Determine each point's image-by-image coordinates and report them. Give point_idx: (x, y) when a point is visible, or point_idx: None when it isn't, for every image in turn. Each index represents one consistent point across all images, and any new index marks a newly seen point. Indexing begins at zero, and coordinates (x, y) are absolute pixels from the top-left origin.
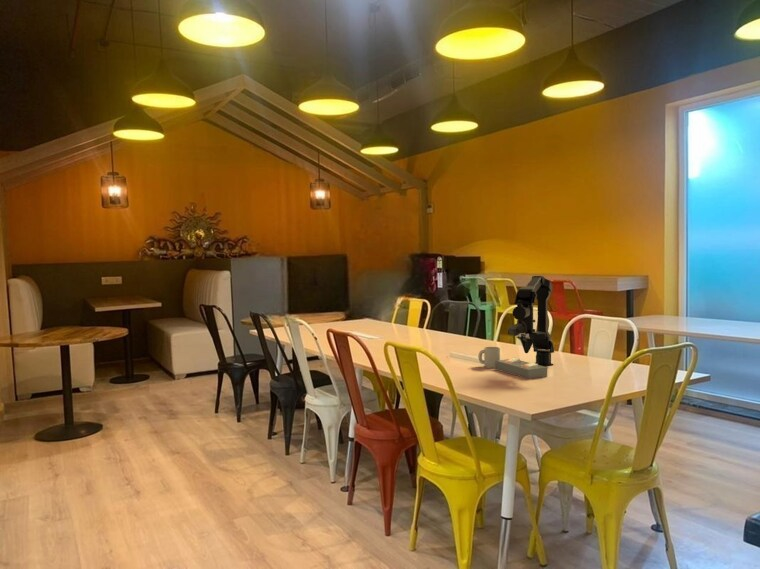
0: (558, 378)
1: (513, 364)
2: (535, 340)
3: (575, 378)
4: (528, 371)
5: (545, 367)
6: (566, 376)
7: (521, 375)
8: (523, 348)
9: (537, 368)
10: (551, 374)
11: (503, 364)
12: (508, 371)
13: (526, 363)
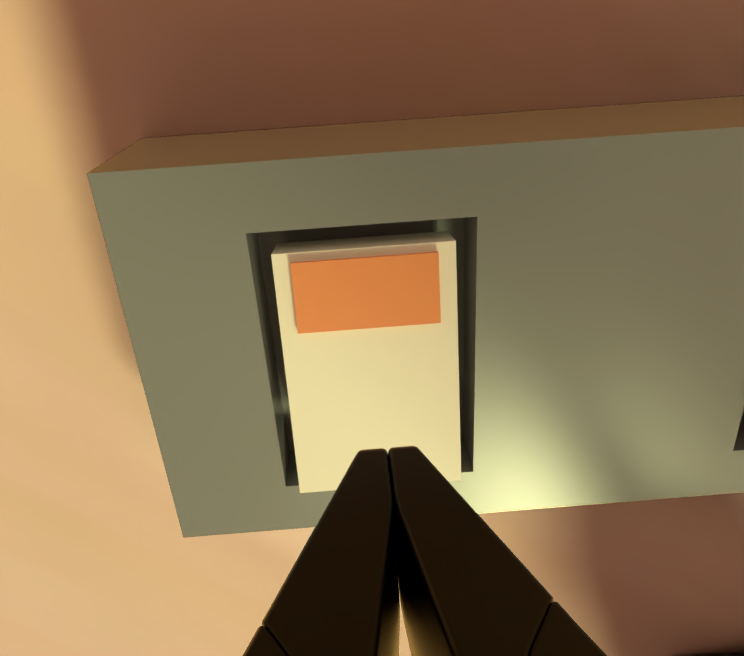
0: (73, 497)
1: (661, 200)
2: None
3: (28, 627)
4: (107, 163)
5: (182, 514)
6: (147, 607)
7: (323, 128)
8: (474, 519)
9: (148, 375)
10: (298, 540)
11: None
12: (675, 104)
13: (585, 441)
